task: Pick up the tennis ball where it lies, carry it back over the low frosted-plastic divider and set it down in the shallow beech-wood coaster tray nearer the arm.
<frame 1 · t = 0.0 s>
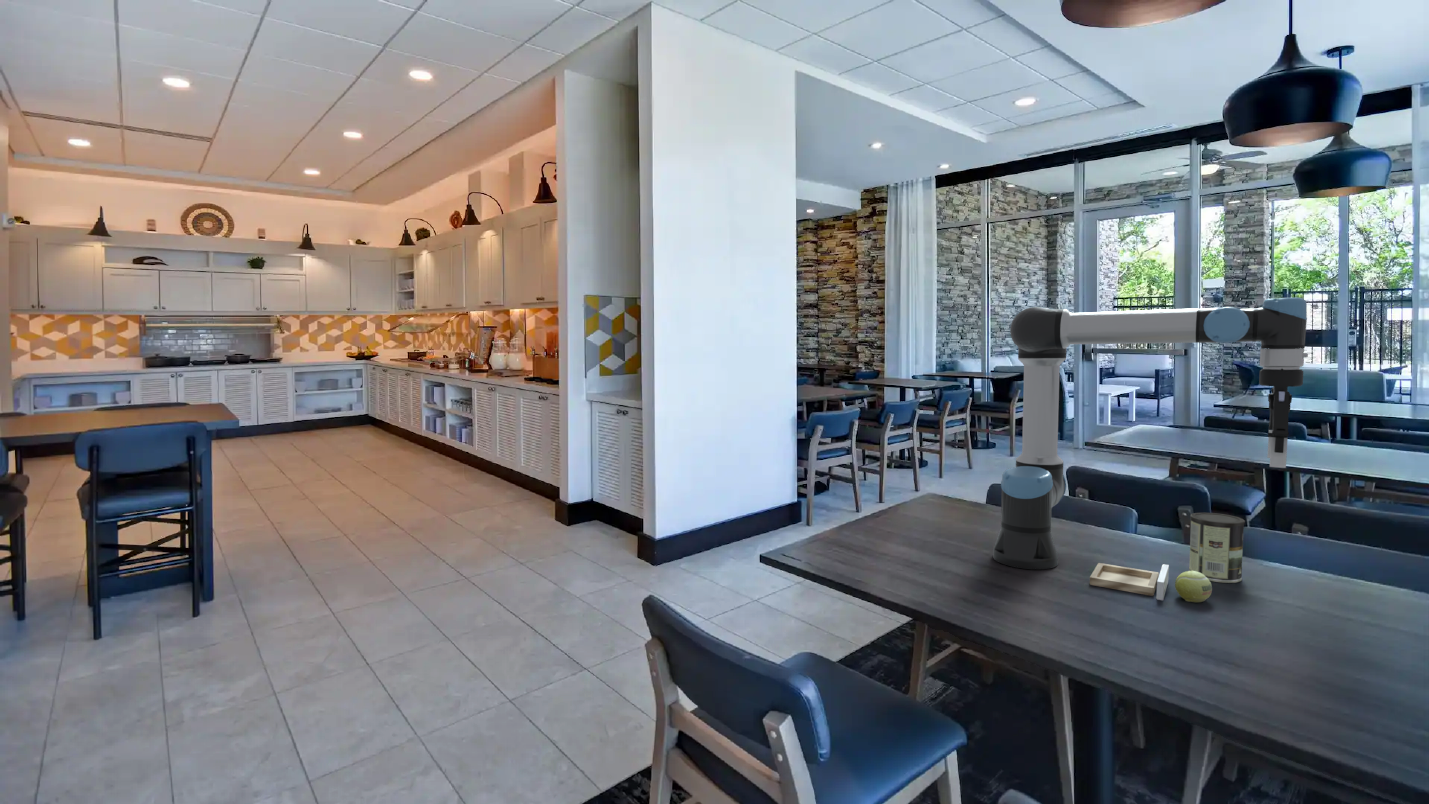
hand: (1276, 462, 153), 28 cm above the table, fingers open, 13 cm apart
tray: (1124, 582, 158), on the table
tennis ball: (1192, 600, 147), on the table
coffee can: (1214, 576, 161), on the table
divider: (1162, 590, 153), on the table
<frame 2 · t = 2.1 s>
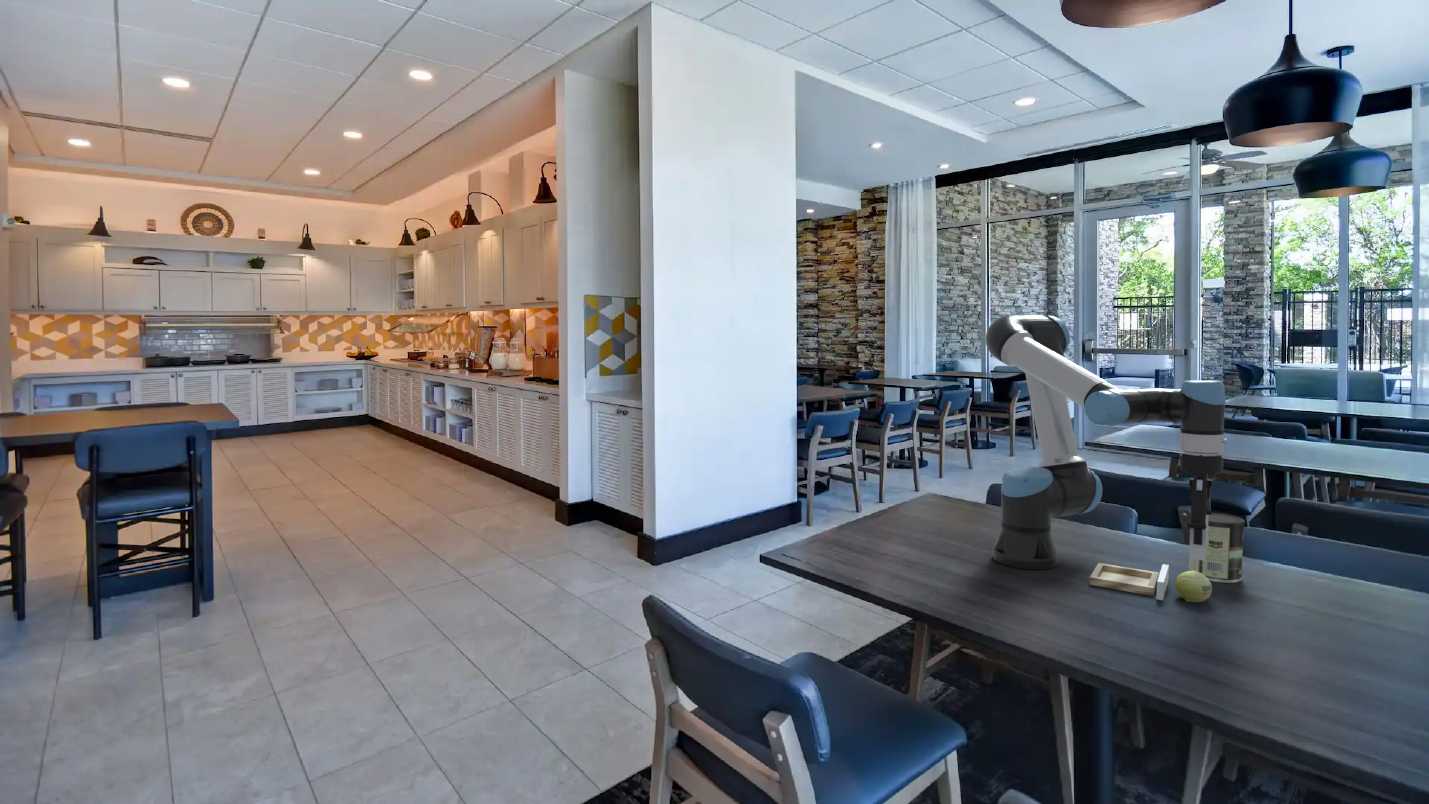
hand: (1198, 551, 146), 11 cm above the table, fingers open, 13 cm apart
nothing on the table moved.
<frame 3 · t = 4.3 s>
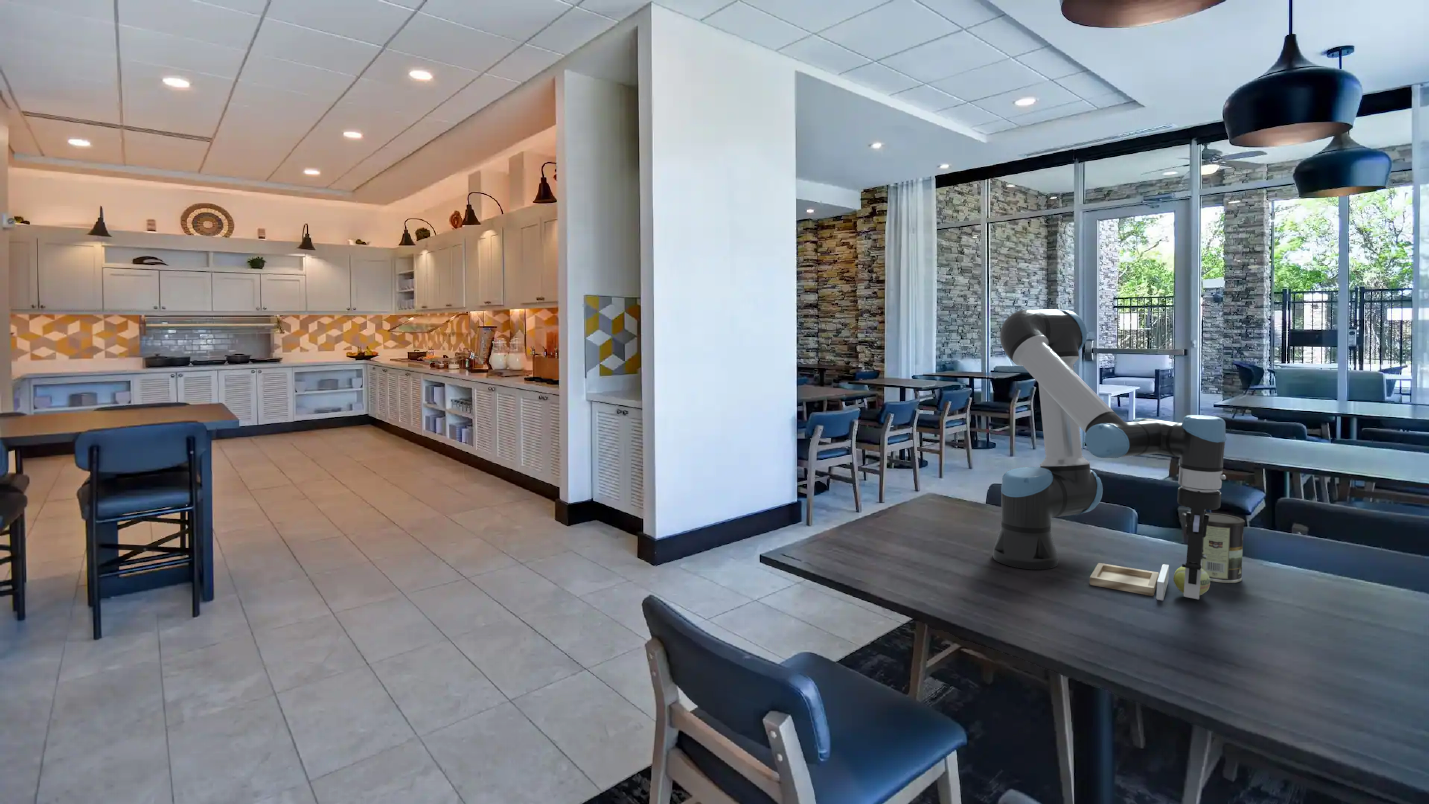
hand: (1192, 591, 148), 1 cm above the table, fingers closed on tennis ball, 6 cm apart
tennis ball: (1190, 593, 148), point 1 cm above the table, touching gripper
everything else where it was.
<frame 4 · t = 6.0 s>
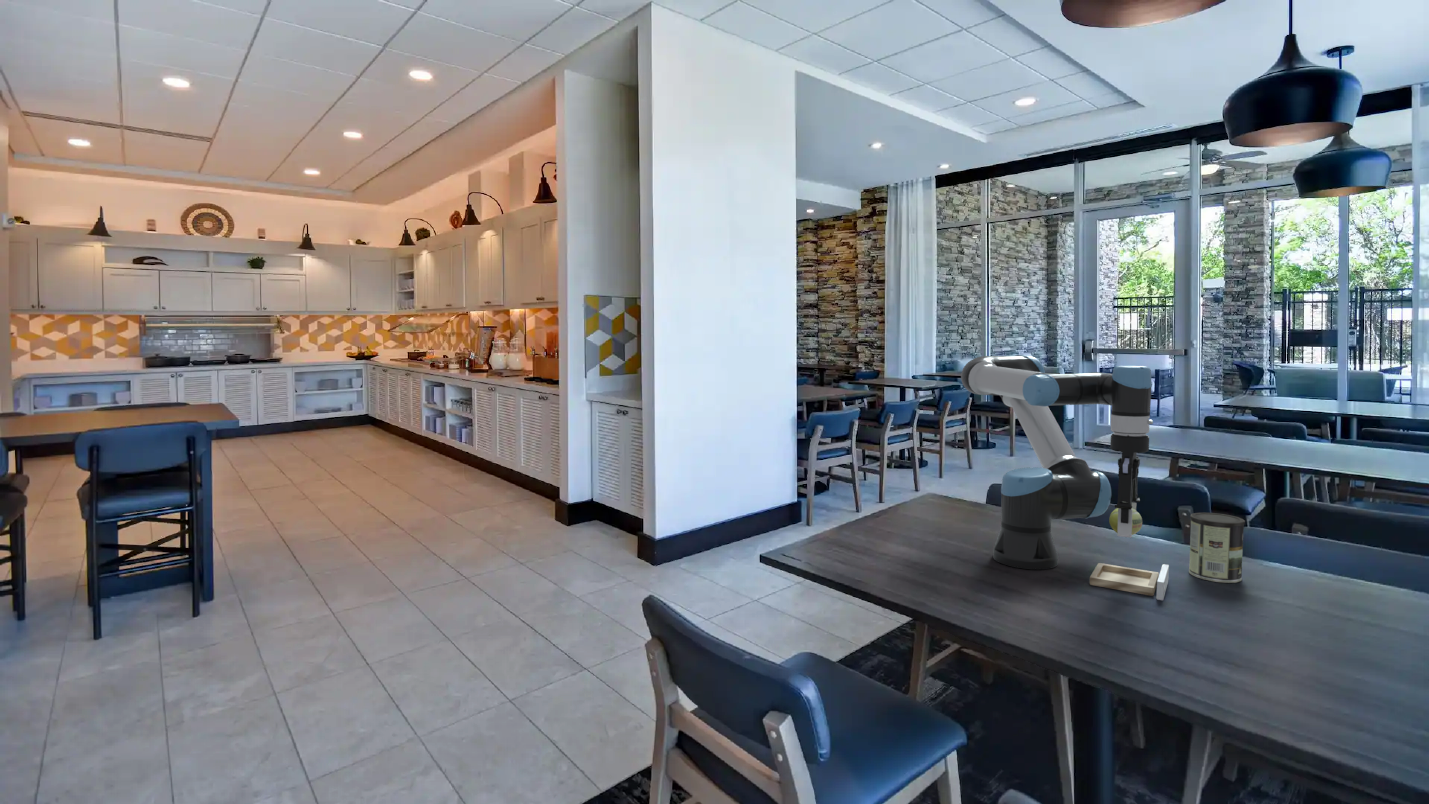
hand: (1126, 532, 157), 12 cm above the table, fingers closed on tennis ball, 6 cm apart
tennis ball: (1124, 534, 157), point 11 cm above the table, touching gripper
everything else where it was.
when the fingers open (2 cm above the table, at t = 7.3 s): tennis ball stays where it is, resting on tray.
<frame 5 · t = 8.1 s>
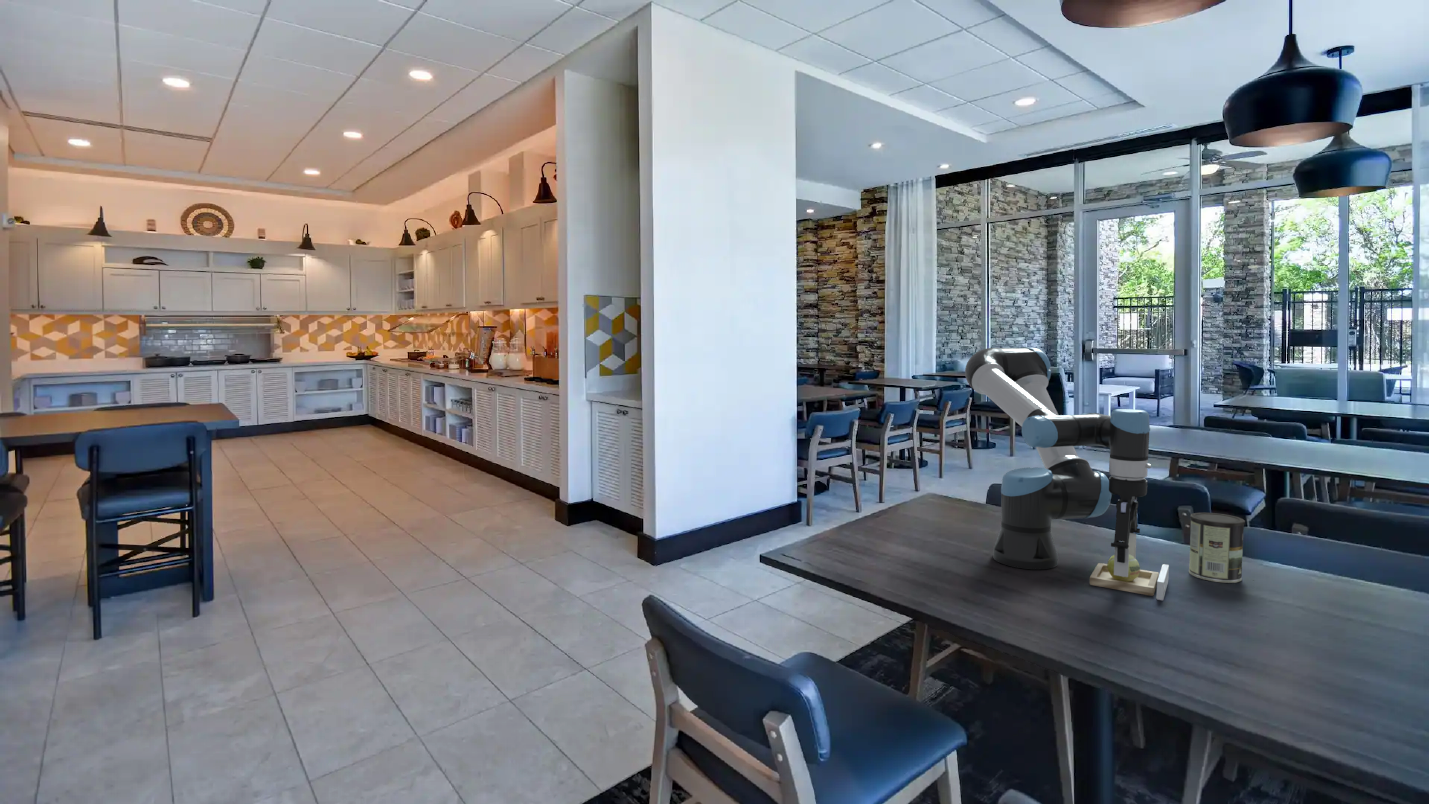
hand: (1124, 567, 158), 4 cm above the table, fingers open, 13 cm apart
tennis ball: (1122, 580, 158), resting on tray
everything else where it was.
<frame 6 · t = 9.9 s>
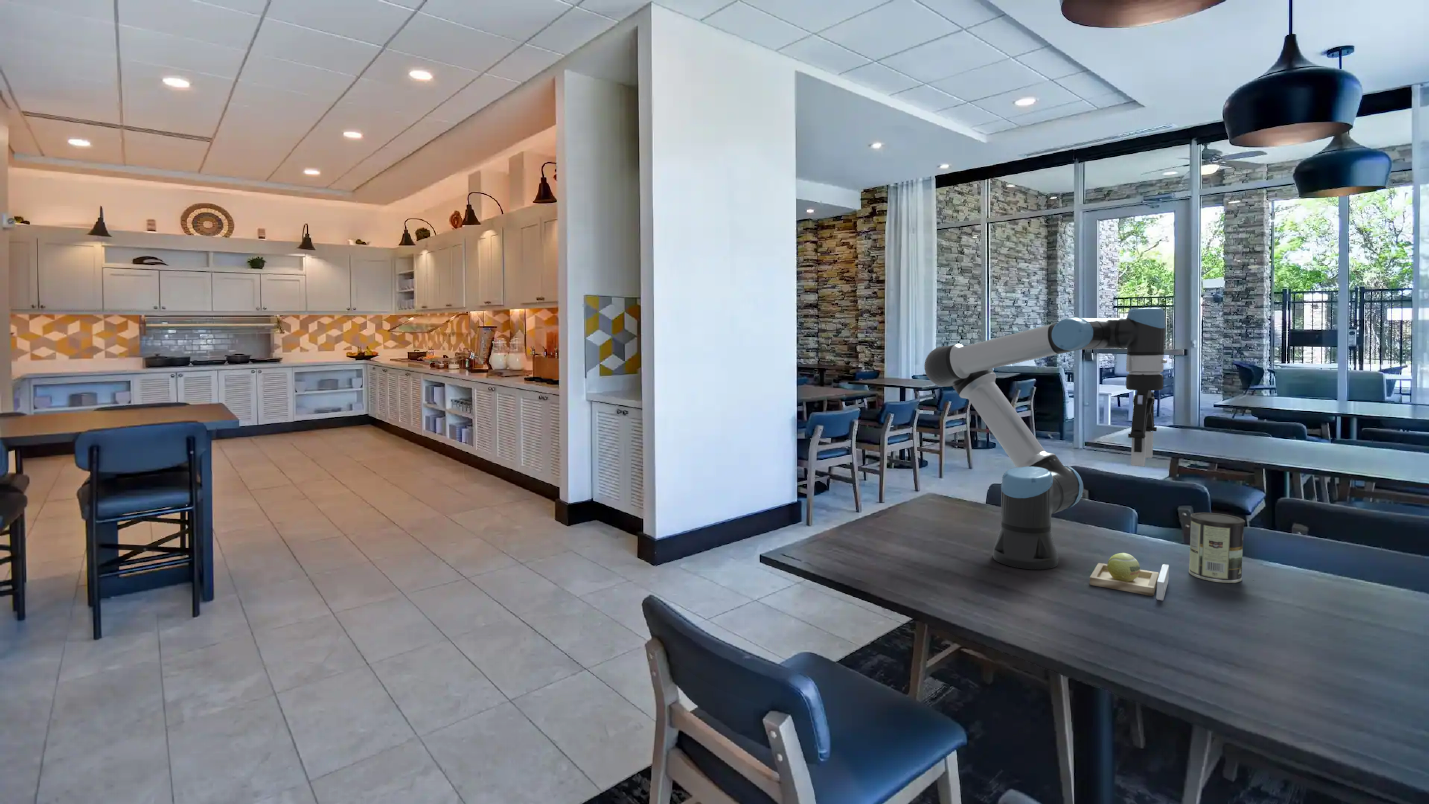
hand: (1142, 461, 164), 27 cm above the table, fingers open, 13 cm apart
nothing on the table moved.
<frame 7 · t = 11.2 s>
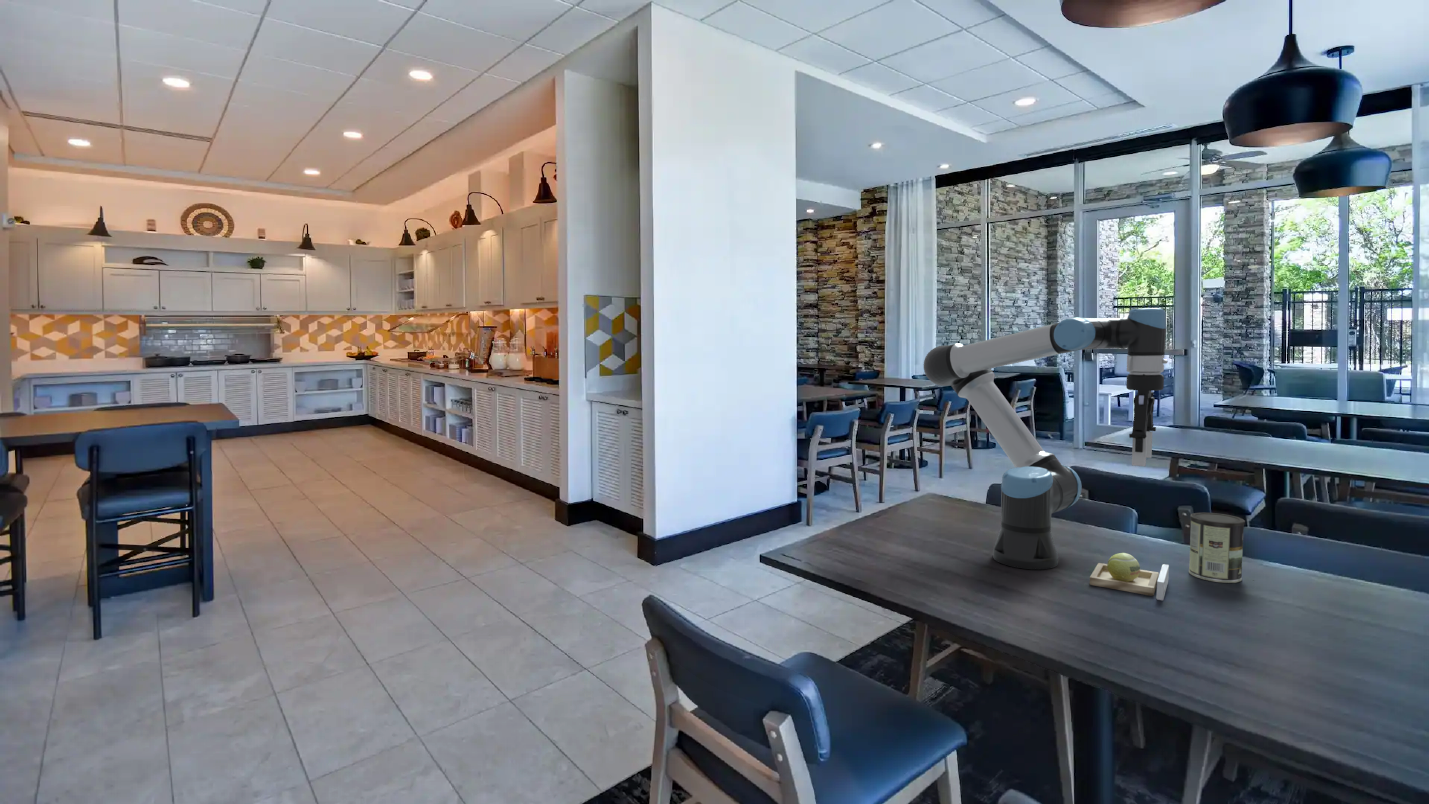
hand: (1141, 461, 164), 27 cm above the table, fingers open, 13 cm apart
nothing on the table moved.
at the end: tennis ball touching tray; the gripper is holding nothing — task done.
